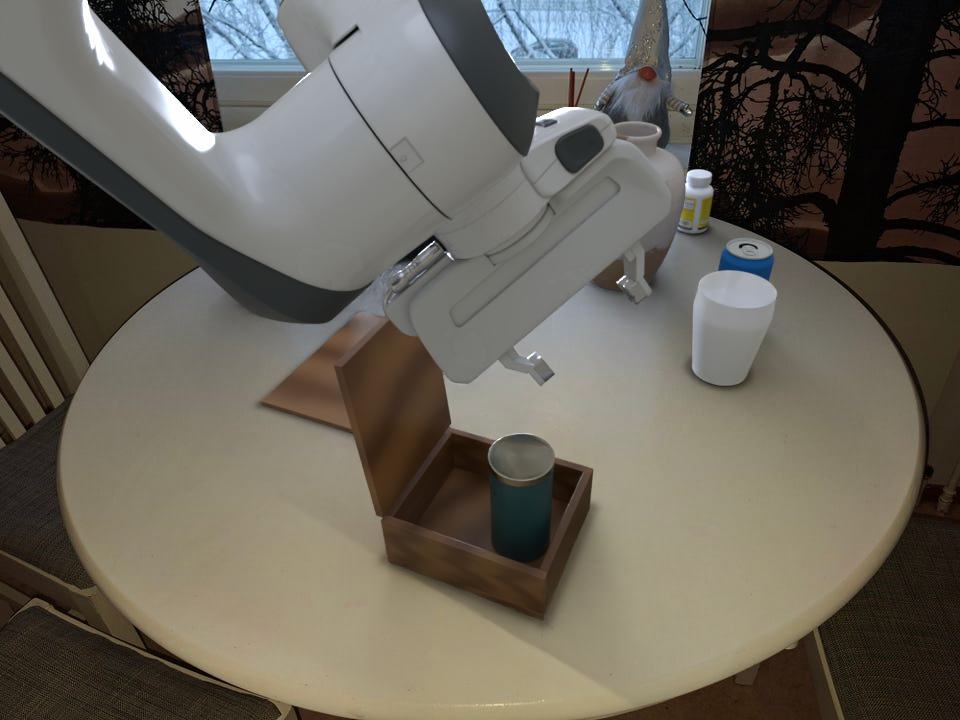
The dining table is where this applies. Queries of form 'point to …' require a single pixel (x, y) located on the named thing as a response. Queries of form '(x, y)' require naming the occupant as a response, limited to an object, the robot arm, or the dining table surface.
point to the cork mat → (321, 378)
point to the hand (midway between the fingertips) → (592, 337)
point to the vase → (674, 177)
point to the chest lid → (392, 408)
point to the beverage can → (747, 257)
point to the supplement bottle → (696, 202)
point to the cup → (729, 324)
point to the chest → (480, 526)
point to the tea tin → (521, 495)
